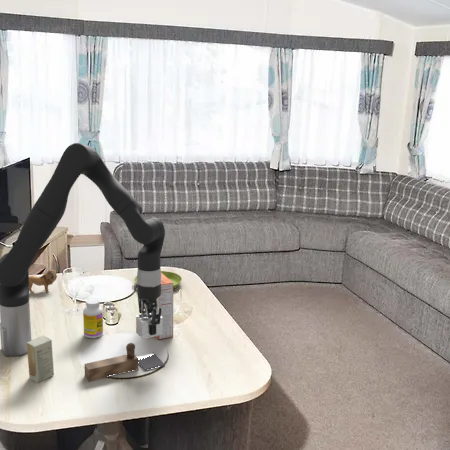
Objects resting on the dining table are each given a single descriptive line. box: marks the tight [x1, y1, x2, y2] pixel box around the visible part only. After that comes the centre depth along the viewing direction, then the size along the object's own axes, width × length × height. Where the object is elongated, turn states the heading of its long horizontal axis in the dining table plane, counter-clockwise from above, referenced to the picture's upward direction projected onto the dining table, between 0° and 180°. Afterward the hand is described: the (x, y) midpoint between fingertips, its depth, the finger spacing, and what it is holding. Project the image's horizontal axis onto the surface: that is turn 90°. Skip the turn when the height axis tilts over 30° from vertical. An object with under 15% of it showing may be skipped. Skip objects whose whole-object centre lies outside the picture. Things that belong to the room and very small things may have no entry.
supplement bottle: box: [82, 298, 104, 339], centre depth 207 cm, size 7×7×13 cm
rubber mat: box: [138, 353, 166, 371], centre depth 191 cm, size 7×9×1 cm
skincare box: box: [26, 335, 55, 384], centre depth 179 cm, size 6×4×12 cm
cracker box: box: [155, 273, 174, 340], centre depth 211 cm, size 14×6×21 cm, turn 27°
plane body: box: [83, 342, 139, 382], centre depth 183 cm, size 16×4×9 cm, turn 120°
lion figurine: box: [29, 269, 58, 294], centre depth 245 cm, size 15×5×9 cm, turn 108°
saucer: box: [133, 270, 183, 290], centre depth 257 cm, size 21×21×3 cm
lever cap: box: [135, 313, 163, 340], centre depth 188 cm, size 7×5×7 cm
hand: (149, 330), depth 189 cm, fingers closed on lever cap, 5 cm apart
